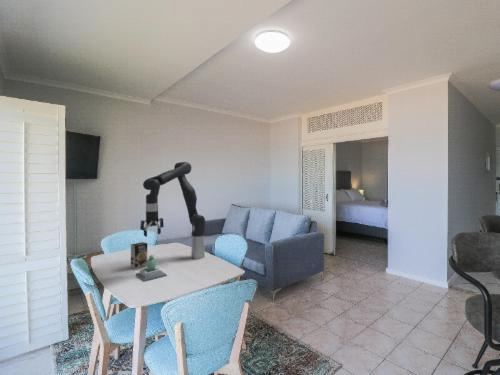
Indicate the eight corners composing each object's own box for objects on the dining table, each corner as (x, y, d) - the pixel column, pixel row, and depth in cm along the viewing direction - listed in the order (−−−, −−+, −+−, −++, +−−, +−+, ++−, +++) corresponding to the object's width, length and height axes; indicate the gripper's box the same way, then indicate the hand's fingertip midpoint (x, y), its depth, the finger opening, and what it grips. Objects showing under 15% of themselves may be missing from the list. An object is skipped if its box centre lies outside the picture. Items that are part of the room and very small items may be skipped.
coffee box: (135, 269, 178) (135, 245, 177) (130, 267, 182) (130, 244, 181) (147, 266, 185) (147, 243, 185) (142, 264, 189) (142, 241, 188)
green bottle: (153, 271, 172) (153, 254, 171) (156, 273, 168) (156, 255, 168) (146, 273, 168) (146, 255, 168) (149, 275, 165) (149, 257, 164)
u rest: (157, 269, 178) (157, 264, 178) (166, 275, 168) (166, 269, 167) (135, 274, 168) (135, 268, 168) (144, 281, 158) (144, 274, 158)
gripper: (160, 208, 178) (160, 232, 179) (138, 210, 168) (138, 236, 169) (165, 209, 172) (165, 234, 173) (143, 211, 163) (143, 238, 163)
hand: (152, 235), depth 171 cm, fingers open, 8 cm apart
